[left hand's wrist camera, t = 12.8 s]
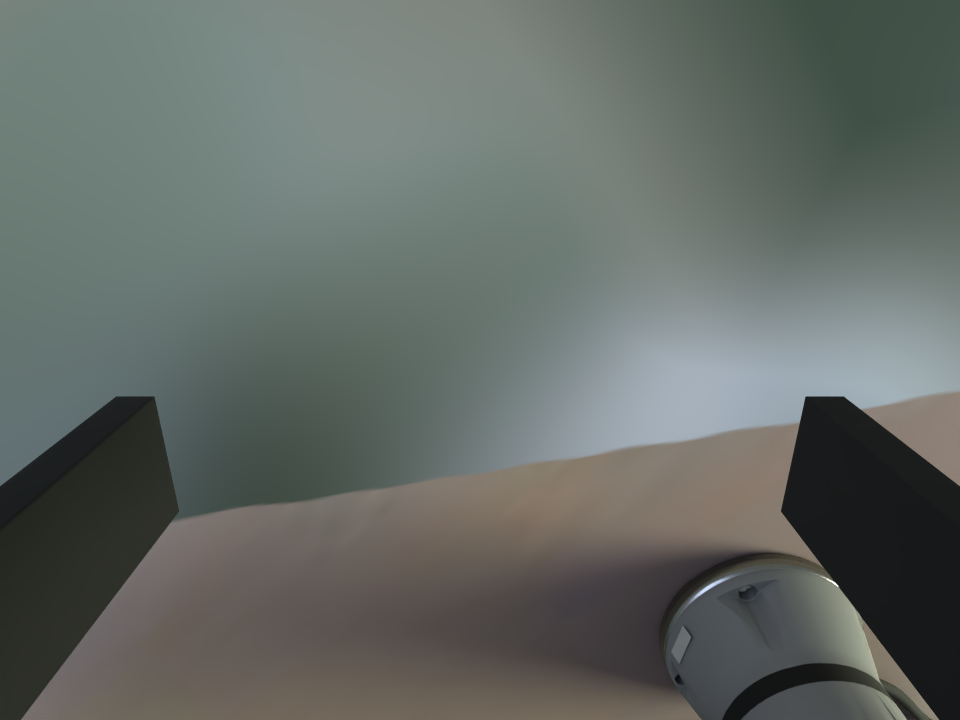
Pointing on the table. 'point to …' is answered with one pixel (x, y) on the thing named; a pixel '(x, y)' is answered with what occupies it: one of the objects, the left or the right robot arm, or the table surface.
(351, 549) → the table surface
